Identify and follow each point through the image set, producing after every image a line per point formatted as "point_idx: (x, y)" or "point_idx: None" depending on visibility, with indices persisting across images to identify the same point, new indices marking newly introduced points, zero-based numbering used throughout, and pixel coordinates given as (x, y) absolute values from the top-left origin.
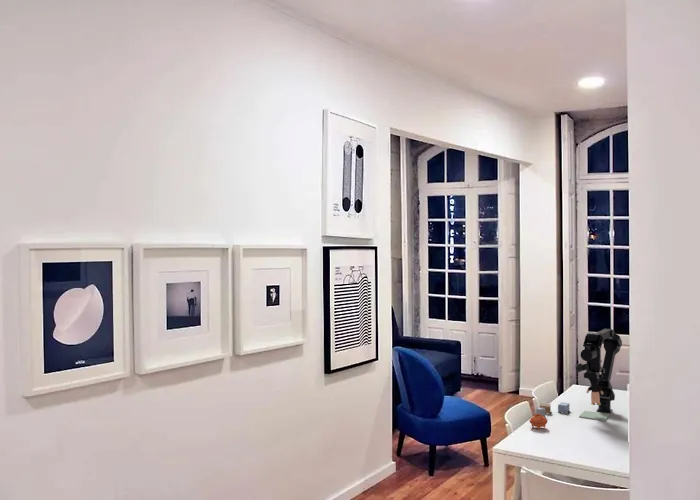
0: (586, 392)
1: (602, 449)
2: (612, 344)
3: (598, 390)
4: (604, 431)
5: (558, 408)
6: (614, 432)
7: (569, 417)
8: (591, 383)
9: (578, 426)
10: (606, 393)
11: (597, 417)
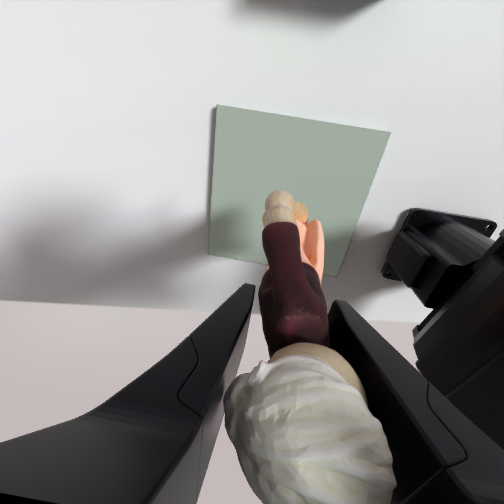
0: (274, 191)
1: None
2: None
3: (486, 311)
4: (39, 247)
5: None
6: (57, 280)
7: (183, 28)
8: (174, 360)
9: (19, 123)
10: (418, 352)
11: (236, 218)
